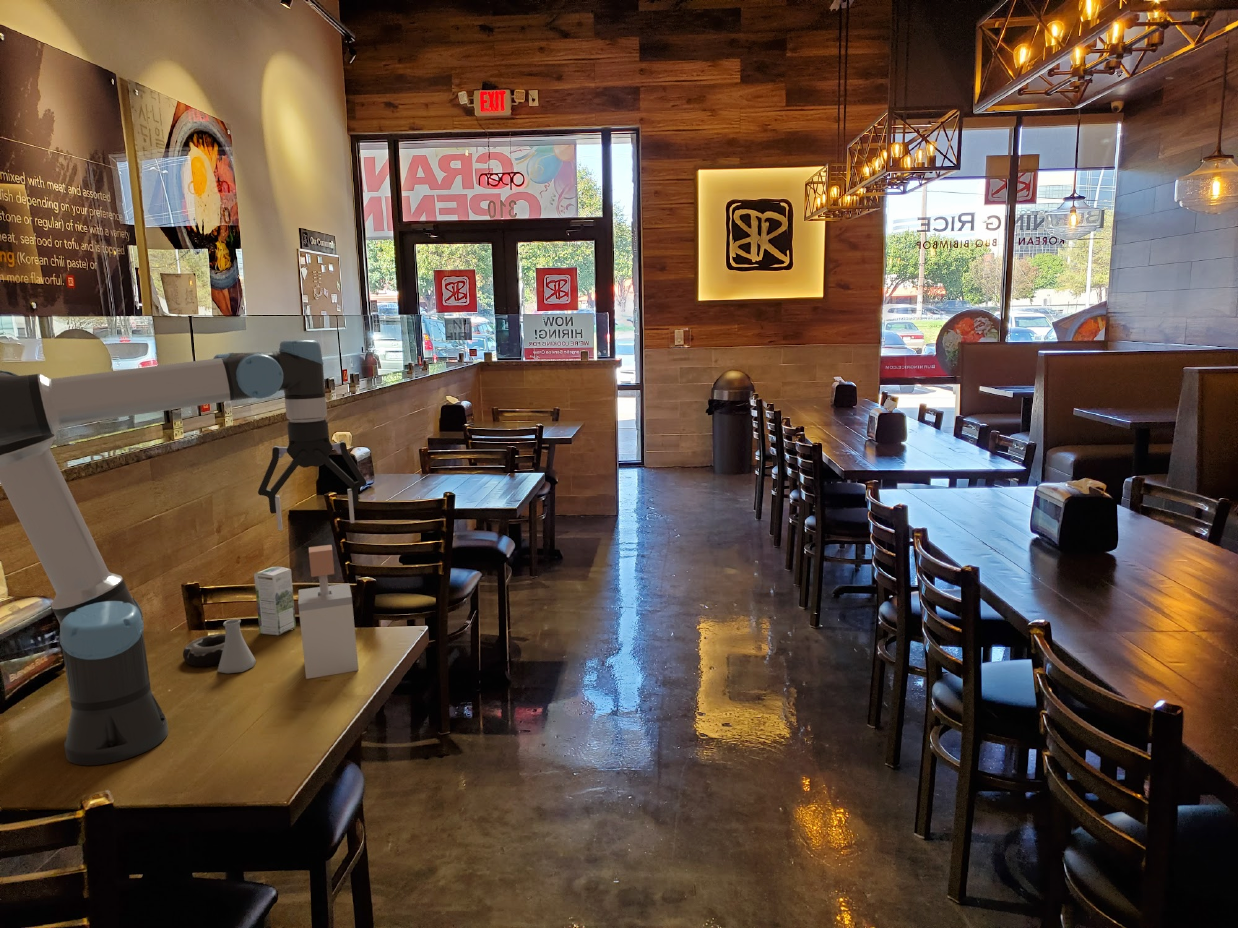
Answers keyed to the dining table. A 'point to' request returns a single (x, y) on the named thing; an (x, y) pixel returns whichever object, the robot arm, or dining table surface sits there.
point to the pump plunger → (321, 565)
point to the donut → (205, 650)
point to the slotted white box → (328, 631)
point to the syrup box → (275, 600)
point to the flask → (235, 650)
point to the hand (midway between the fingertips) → (316, 525)
